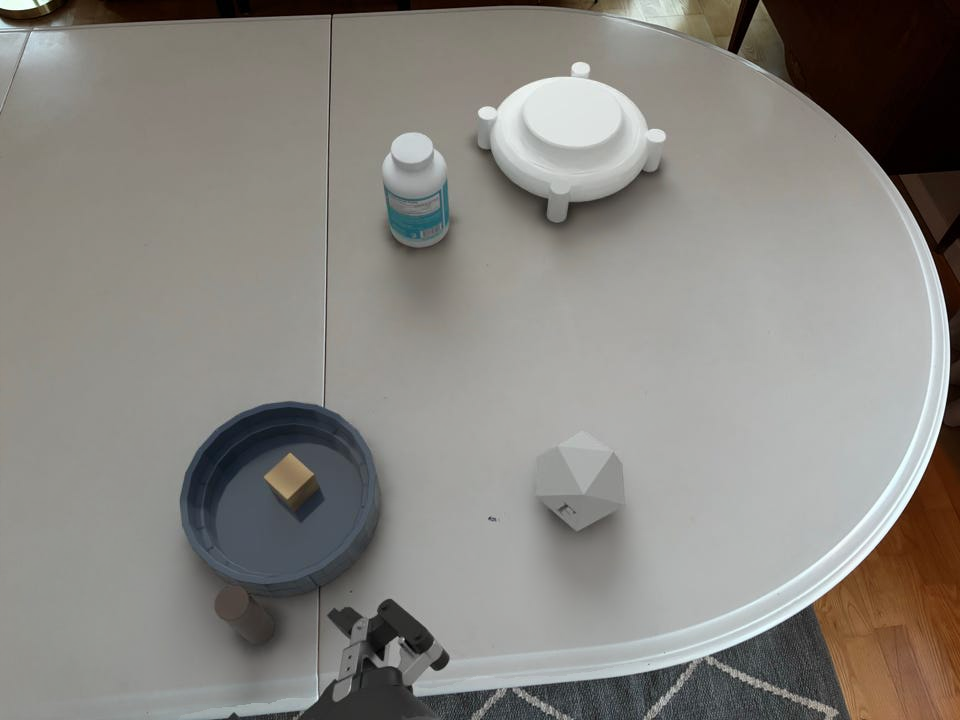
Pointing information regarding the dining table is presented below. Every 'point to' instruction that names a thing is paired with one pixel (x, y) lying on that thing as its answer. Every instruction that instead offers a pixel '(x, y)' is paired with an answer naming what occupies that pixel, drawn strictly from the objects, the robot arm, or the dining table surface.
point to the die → (580, 480)
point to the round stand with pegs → (569, 139)
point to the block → (292, 482)
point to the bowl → (264, 516)
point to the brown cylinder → (244, 615)
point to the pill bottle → (416, 191)
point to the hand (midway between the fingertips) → (289, 671)
